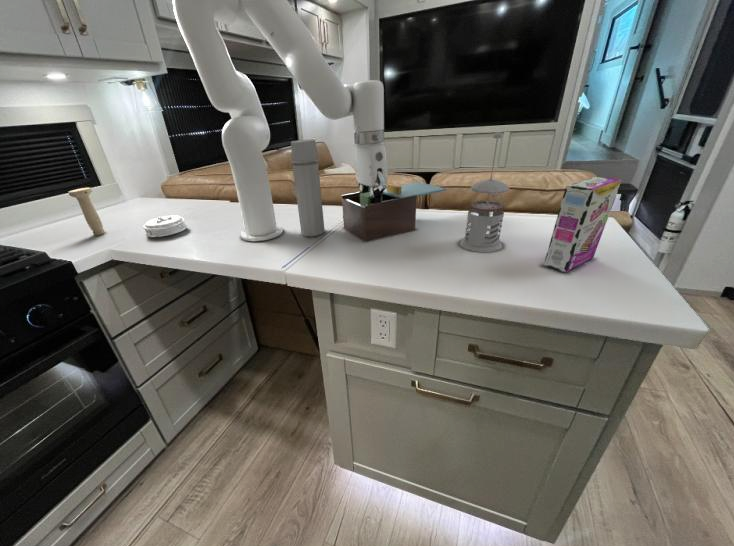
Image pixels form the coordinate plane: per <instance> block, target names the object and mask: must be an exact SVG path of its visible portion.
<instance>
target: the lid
mask: <svg viewBox="0 0 734 546" xmlns="http://www.w3.org/2000/svg"><path fill="white" fill-rule="evenodd" d="M187 227H188V226H187V224H186V223H185V218H184V217H182V216H180V215H177V214H176V215H175V214H174V215H173V214H171V215H163V216H158V217H155V218H152V219H149V220H147V221H145V223H144V224H143V226H142V228H143V229H144V232H145V236H146V237H149V238H157V237H158V238H159V237H160V238H161V237H165V236H166V237H167V236H171V235H174V234H178V233H180V232H182V231H185V230H186V229H187Z"/></svg>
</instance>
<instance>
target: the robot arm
mask: <svg viewBox="0 0 734 546" xmlns="http://www.w3.org/2000/svg"><path fill="white" fill-rule="evenodd" d="M172 7H173V13H174V16H175V19H176V23H177V26H178V28H179V31H180V33H181V35H182V37H183V40H184V42H185V44H186V47H187V49H188V51H189V54H190V56H191V58H192V61H193V64H194V66H195V69H196V71H197V73H198V76H199V78H200V81H201V83H202V85H203V88H204V90H205V93H206V95H207V98H208V100H209V101H210V103H211V105H212V106H213V107H214V108H215V110H217V111H220V112H222V113H228V114H229V116H230V119H229V120H228V121H226V123H224V126H223V127H222V131H221V142H222V147H223V149H224V152H225V155H226V158H227V160H228V163H229V166H230V170H231V174H232V179H233V183H234V186H235V191H236V194H237V195H236V196H237V200H238V204H239V209H240V213H241V218H242V223H243V227H244V230H242V231H241V233H240V238H241V239H242V240H243V241H247V242H262V241H263V242H265V241H269V240H272V239H275V238H277V237H279V236H281V235H282V234H283V232H284V231H283V227H282V226H281V225H278V224H277V219H276V213H275V209H274V201H273V196H272V190H271V184H270V178H269V173H268V168H267V165H266V162H265V158H264V154H263V151H264V150H266V148H268V146H269V144H270V141H271V131H270V127H269V124H268V120H267V118H266V115H265V112H264V109H263V107H262V103H261V101H260V98H259V95H258V93H257V91H256V88H255V86H254V84H253V82H252V81H251V79H250V78H248V76H247V75H246V74H244V72H241V71H239V70H236V68H235V65H234V64H233V62H232V59H231V56H230V54H229V51H228V47H227V45H226V42H225V41H224V39H223V36H222V34H221V33H220V31H219V29H218V27H217V24H216V22H218V23H220V24H222V25H226V26H233V27H243V28H250V29H258V30H259V33H261V35H262V36H263V37H264V38H265V39H266V41H267V42H268V44H269V45H270V46H271V47H272V48H273V50H274V51H275V53H276V54H277V55H278V57H279V58H280V59H281V61H282V62H283V63H284V65H285V66H286V68H287V70H288V71H289V72H290V74H291V75H292V76H293V77H294V79H295V81H296V82H297V83H298V84H299V86H300V87H301V89H302V90H303V91H304V93H305V95H306V96H307V97H308V98H309V99H310V101H311V102H312V104H314V106H315V107H316V108H317V110H318V111H319V112H320V113H321V115H323V116H324V117H325V118H327V119H329V120H333V121H334V120H336V121H337V120H340V119H343V118H347V117H350V116H352V117H353V132H354V133H353V136H354V147H355V153H354V155H355V156H354V168H355V170H354V171H355V180H356V181H355V182H356V183H357V185H358V188H359V192H360V194H362V193H367V192H370V190H371V197H372V198H370V204H373V203H378V202H381V197H382V193H383V191H384V190H385V189H386V187H387V184H388V181H389V180H388V179H389V175H388V173H389V172H388V158H387V150H386V145H385V94H384V93H385V89H384V83H383V82H382V81H381V80H379V79H372V80H362V81H357V82H355V83H354V84H351V83H350V84H349V83H348V84H346V83H343V82H342V81H341V79H340V78H339V77H338V76H337V74H336V72H335V71H334V70H333V68H332V67H331V66H330V65H329V63H328V61H327V60H326V59H325V57H324V56H323V54H322V53H321V51H320V49H319V48H318V46H317V43H316V40H315V38H314V36H313V34H312V33H311V31H310V30H309V28H308V27H307V25H306V24H305V23H304V21H303V20H302V18H301V17H300V16H299V15H298V13H297V12H296V10H295V8H294V7H293V6H292V5H291V3H290V2H289V1H288V0H172ZM374 189H376V190H375V191H374Z"/></svg>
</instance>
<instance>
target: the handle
mask: <svg viewBox="0 0 734 546" xmlns="http://www.w3.org/2000/svg"><path fill="white" fill-rule="evenodd" d="M67 193H68V195H69V196H70V197H72V198H75V199H76V200H77V202H78V204H79V206H80V210H81V212H82V214H83V218H84V220H85V221H86V223H87V225H88V227H89V229H90V230H91V231H92V234H93V235H94V236H101V235H104V234H105V229H104V225H103V223H102V221H101V218H100V215H99V213H98V212H97V210H96V208H95V206H94V204H93V202H92V200H91V198H90V195H91V193H92V188H91V187H80V188H75V189H72V190H68V191H67Z"/></svg>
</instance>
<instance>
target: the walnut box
mask: <svg viewBox="0 0 734 546" xmlns="http://www.w3.org/2000/svg"><path fill="white" fill-rule="evenodd" d="M386 188H387V186H386ZM376 189H377V188H374V191H375V190H376ZM370 192H371V190H370ZM417 199H418V197H417V195H413V196H408V197H403V198H398V199H397V198H394V197H391V196H388V195H385V194H382V202H378V203H373V204H368V205H365V207H364V206H362V205H360V191H357V192H352V193H347V194H342V195H341V202H342V203H341V204H342V220H343V229H345V230H346V231H348V232H350V233H351V234H353V235H355V236H356V237H358V238H359V239H361V240H363V241H365V242H371V241H374V240H379V239H383V238H386V237H390V236H395V235H399V234H403V233H406V232H407V233H408V232H411V231H412V232H413V231H415V230H416V218H417V202H418V201H417Z"/></svg>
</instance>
